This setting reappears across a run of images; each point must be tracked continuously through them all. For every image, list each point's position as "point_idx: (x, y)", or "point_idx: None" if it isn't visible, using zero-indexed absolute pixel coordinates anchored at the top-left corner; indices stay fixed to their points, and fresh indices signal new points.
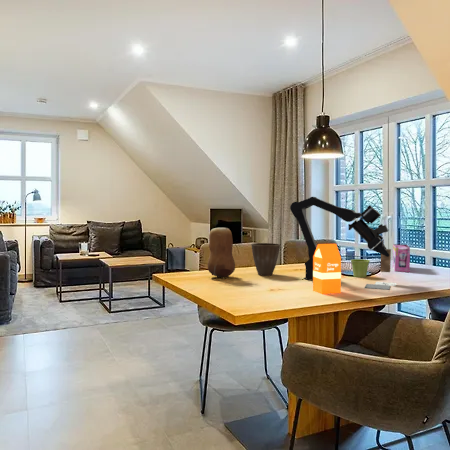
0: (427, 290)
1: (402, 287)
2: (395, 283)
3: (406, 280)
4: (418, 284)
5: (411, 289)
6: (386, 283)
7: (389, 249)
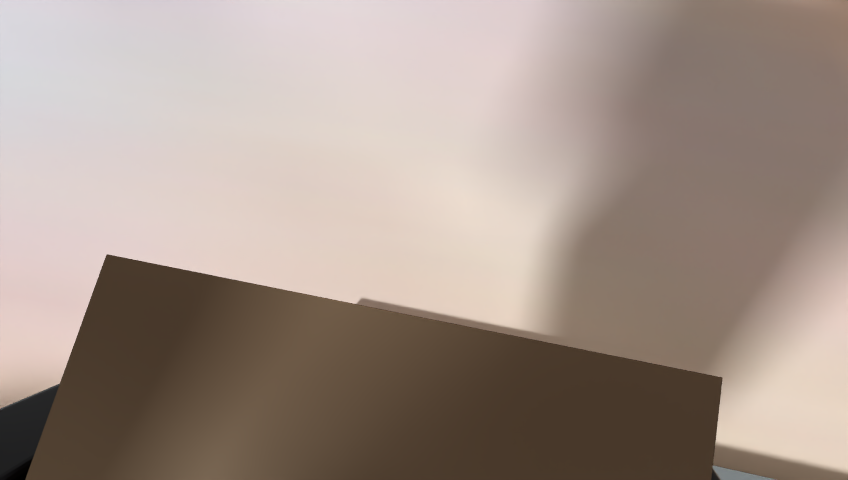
0: (815, 5)
1: (670, 278)
2: None
3: (61, 130)
4: (360, 38)
5: (809, 184)
6: None
7: (273, 357)
